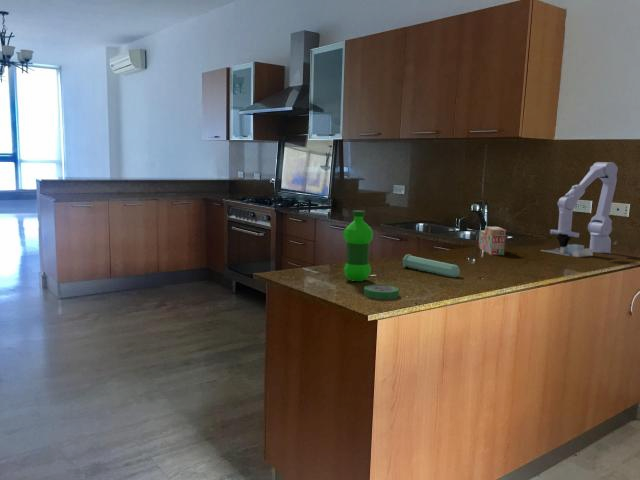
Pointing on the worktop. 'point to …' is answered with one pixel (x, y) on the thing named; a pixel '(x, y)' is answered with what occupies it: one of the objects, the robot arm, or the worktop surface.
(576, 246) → the steel block
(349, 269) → the plastic bottle
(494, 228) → the printed cardboard box
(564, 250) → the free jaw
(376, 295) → the tape roll
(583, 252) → the vise
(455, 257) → the worktop surface
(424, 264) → the container
